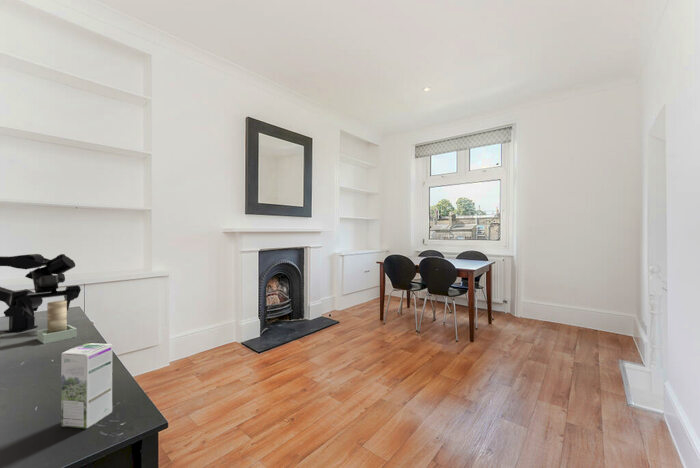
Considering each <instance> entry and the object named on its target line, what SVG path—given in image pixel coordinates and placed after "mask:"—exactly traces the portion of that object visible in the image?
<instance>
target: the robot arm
mask: <svg viewBox="0 0 700 468" xmlns="http://www.w3.org/2000/svg"><path fill="white" fill-rule="evenodd" d="M0 267H10V268H13V269H19V270H30V271H29V273H27V274H25V276H24V278H28V279H29V280H30V279H31V280H32V282H33V287H34V288H33V289H34V291H32V290H31V289H27V288H25V289H21V290H16V291H14V290H11V289H9V288H6V287H2V286H0V302H3V303H5V304H6V306H7V308H6V309H5V310H4V311H3V314H4V317H5V318H8V329H5V330H3V331H4V332H5V333H9V332H10V333H12V332H13V333H15V332H16V333H17V332H19V333H20V332H24V331H30V330H31V329H35V328H38V327H39V325H35V321H36V320H35V319H36V317H35V312H37V311H38V310H39V307H40V306H41V305H42V304H43V302H44V301H43V299H47V298H48V299H49V298H56V297H57V298H58V297H63V298H64V300H63V301H67V312H68V311H69V309H70V304H71V301H74V300H75V299H77V298H79V295H80V293H81V290H82V289H81V286H79V285H77V284H76V285H68V286H67V285H66V287H65V289H63V290H59V284H61V283H62V284H63V283H65V281H66V276H65V274H64V273H66V272H68V271H70V270H72V269H74V268H76V263H75V261H74V260H73V259H72V258H70V257H68V256H66V254H65V253H64V254H63V253H61V254H59V255H57V256H56V257H53V258H52V259H49V258H45V257H44V255H42V254H40V253H33V254H31V253H30V254H20V255H14V256H13V255H12V256H7V255H5V256H3V255H1V256H0ZM31 269H33V270H32V271H31Z"/></svg>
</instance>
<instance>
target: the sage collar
mask: <svg viewBox="0 0 700 468" xmlns="http://www.w3.org/2000/svg"><path fill="white" fill-rule="evenodd" d="M73 337H74V338H78V328H76V327H75V326H72V325H70V324H67V330H65V331H60V332H55V333H49V334H47V328H46V329H45V328H44V329H40V330H37V332H36V339H37V341H39V342H40V343H42V344H43V345H45V344H46V345H47V344H49V343H55V342H58V341H65V340H68V339H73Z"/></svg>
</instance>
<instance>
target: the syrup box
mask: <svg viewBox="0 0 700 468" xmlns="http://www.w3.org/2000/svg"><path fill="white" fill-rule="evenodd" d="M60 363H61V369H60V370H61V375H60V378H61V381H60V382H61V385H60V386H61V388H60V389H61V390H60V394H61V396H60V397H61V398H60V399H61V401H60V402H61V403H60V413H61V414H60V417H61V418H60V426H61V427H63V428H74V429H75V428H76V429H88V428H90V427H92V426H94V425H95V424H97V423H98V422H99V421H101V420H102V419H103V420H104V419H105V418H106V417H107V416H109V415H110V414H111V413H113V344H112V343H97V342H93V343H92V342H90V343H89V342H88V343H83V344H80V345H77V346H75V347H72V348H70V349H67V350H66V351H64V352H61V362H60Z"/></svg>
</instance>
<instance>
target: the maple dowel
mask: <svg viewBox="0 0 700 468" xmlns="http://www.w3.org/2000/svg"><path fill="white" fill-rule="evenodd" d="M46 308H47V310H46V311H47V312H46V314H47V316H46V320H47V321H46V323H47V325H46V326H47V327H46V329H47V334H49V333H55V332H60V331H65V330H67V325H68V322H67V321H68V311H67V301H64V300H56V301H49V302H47V304H46Z"/></svg>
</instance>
